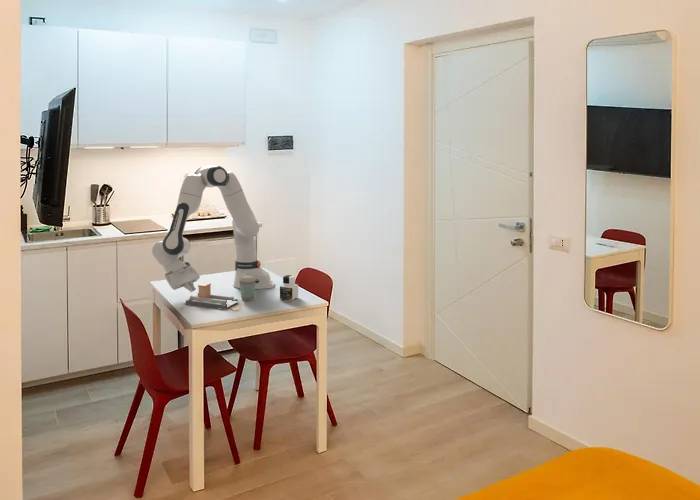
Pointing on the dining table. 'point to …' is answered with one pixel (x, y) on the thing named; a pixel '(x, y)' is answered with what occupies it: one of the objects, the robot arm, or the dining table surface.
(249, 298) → the coffee cup
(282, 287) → the medicine bottle
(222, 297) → the switch board
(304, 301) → the dining table surface
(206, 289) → the switch tab
